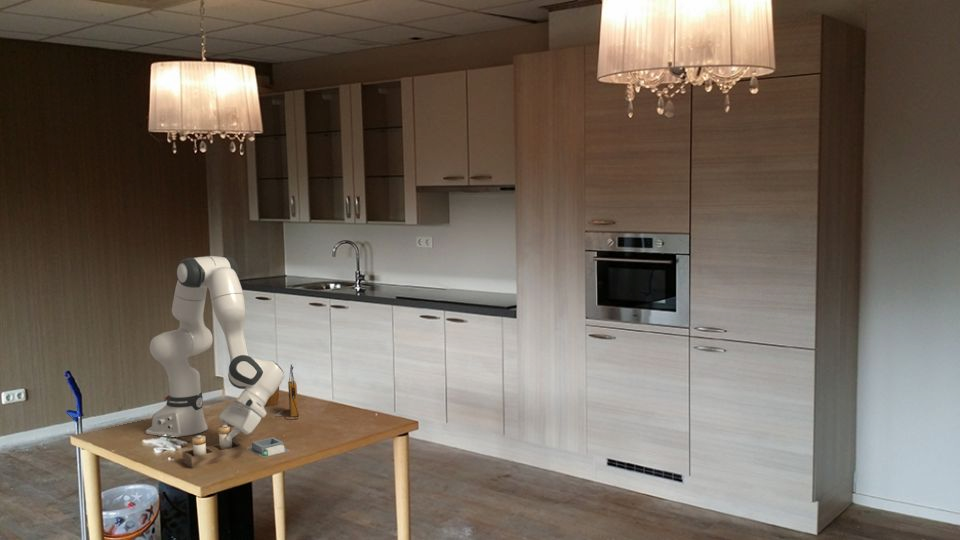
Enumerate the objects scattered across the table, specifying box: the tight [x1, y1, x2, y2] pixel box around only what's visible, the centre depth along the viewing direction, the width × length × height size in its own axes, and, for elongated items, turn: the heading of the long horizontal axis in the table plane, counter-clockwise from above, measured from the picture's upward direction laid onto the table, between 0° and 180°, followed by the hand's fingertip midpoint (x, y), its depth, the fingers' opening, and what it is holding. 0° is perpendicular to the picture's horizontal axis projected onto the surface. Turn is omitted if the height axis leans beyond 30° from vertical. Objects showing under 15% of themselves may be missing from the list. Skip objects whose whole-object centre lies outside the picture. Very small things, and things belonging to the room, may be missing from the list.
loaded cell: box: [192, 434, 207, 456], centre depth 278 cm, size 4×4×9 cm
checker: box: [246, 436, 291, 458], centre depth 290 cm, size 10×14×4 cm
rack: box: [182, 440, 245, 469], centre depth 282 cm, size 18×8×4 cm, turn 129°
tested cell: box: [218, 424, 233, 450], centre depth 284 cm, size 4×4×9 cm
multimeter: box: [274, 363, 299, 421], centre depth 334 cm, size 15×10×20 cm
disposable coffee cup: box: [264, 386, 280, 407], centre depth 353 cm, size 10×10×12 cm
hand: (223, 438), depth 283 cm, fingers closed on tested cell, 4 cm apart
